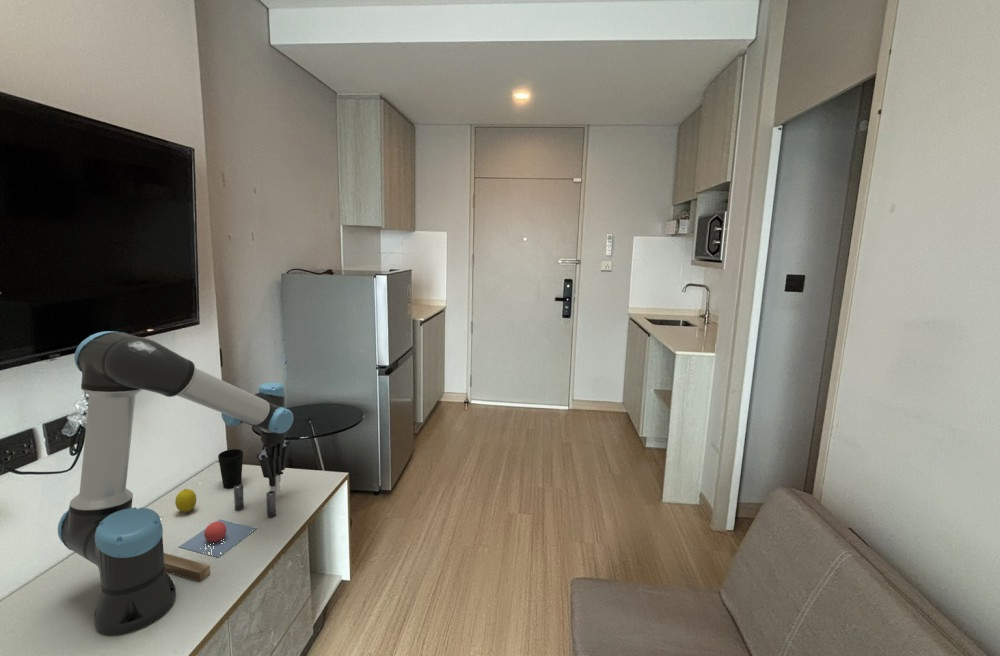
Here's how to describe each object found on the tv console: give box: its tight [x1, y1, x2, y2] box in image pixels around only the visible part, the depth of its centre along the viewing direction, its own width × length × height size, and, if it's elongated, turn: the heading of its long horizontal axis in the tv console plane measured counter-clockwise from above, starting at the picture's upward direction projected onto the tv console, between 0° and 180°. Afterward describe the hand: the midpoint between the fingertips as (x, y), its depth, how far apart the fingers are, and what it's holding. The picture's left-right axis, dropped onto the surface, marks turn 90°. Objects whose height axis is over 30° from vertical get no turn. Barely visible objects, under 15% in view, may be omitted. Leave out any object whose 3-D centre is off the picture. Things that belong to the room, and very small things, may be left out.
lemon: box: [174, 488, 197, 513], centre depth 145 cm, size 6×6×8 cm
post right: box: [266, 490, 277, 519], centre depth 145 cm, size 3×3×8 cm
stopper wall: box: [164, 552, 211, 582], centre depth 121 cm, size 3×20×2 cm, turn 76°
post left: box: [233, 483, 245, 512], centre depth 148 cm, size 3×3×8 cm
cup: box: [217, 448, 244, 490], centre depth 162 cm, size 8×8×12 cm
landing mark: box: [178, 519, 258, 559], centre depth 134 cm, size 14×14×1 cm
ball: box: [204, 521, 226, 542], centre depth 133 cm, size 6×6×6 cm
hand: (275, 492), depth 156 cm, fingers closed
